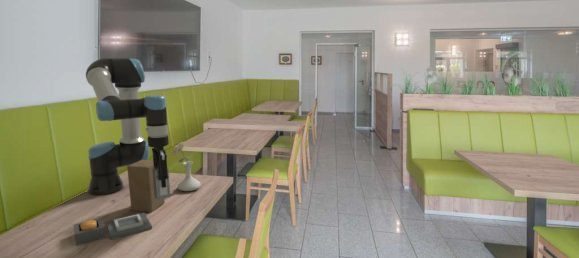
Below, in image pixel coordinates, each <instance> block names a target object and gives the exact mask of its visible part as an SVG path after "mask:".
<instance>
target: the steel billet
mask: <svg viewBox="0 0 579 258" xmlns="http://www.w3.org/2000/svg"><path fill="white" fill-rule="evenodd" d="M169 171H170V170H169V168H168V166H167V172H168V179H167V192H168V194H166V195H161V196H160V188H159V180H158V179H159V170H158V166H157V167H152V172H153V184H154V196H155V197H156V199H157V200H159V199H164V200H165V199H168V198H171V189H170V188H171V186H170V175H169V174H170V172H169Z"/></svg>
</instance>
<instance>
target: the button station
mask: <svg viewBox="0 0 579 258" xmlns="http://www.w3.org/2000/svg"><path fill="white" fill-rule="evenodd" d="M102 218H103V217H101V218H95V219H94V220H95V221H96V222H97V228H92V229H88V230H84V231H81V226H80V225H81V223H83V222H84V221H82V222H79V223H74V224H73V232H74V233H73V235H74V239H75V240H74V241H75V246H79V245H82V244H85V243H86V244H87V243H89V242H93V241H97V240H101V239H106V233H105V231H106V230H105V226H104V222H103V219H102Z"/></svg>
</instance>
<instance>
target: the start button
mask: <svg viewBox="0 0 579 258" xmlns="http://www.w3.org/2000/svg"><path fill="white" fill-rule="evenodd" d="M82 222H83V223H82ZM82 222H80V223H81V225H80V226H81V231H84V230H88V229H92V228H97V222H96V221H95V219H90V220H86V221H82Z"/></svg>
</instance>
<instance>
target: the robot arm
mask: <svg viewBox="0 0 579 258" xmlns="http://www.w3.org/2000/svg"><path fill="white" fill-rule="evenodd" d="M85 79H86V82H87V83H88V84H89V85H90V86H92V89H93V91H94V94H95V95H96V98H97V102H96V103H95V110H96V112H95V113H96V116H97V120H98V121H101V122H107V121H108V122H111V121H119V120H120V122H121V133H122V136H121V138H120V139H119V143H118V144H116V143H115V142H114V141H105V142H100V143H97V144H95V145H92V146H91V147H90V148H89V149H88V159H89V166H90V167H89V170H90V175H91V176H90V181H89V185H88V193H89V194H90V195H93V196H95V195H96V196H101V195H109V194H114V193H117V192H119V191H121V190H122V189H124V183H123V180H122V179H121V177H120V175H119V171H118V168H123V167H127V166H129V165H131V164H133V163H136V162H138V161H140V160H149V154H150V148H151V151H152V160H153V165H154V167H157V166H158V170H159V179H158V180H159V188H160V196H161V195H166V194H168V192H167V179H168V172H167V167H168V163H167V162H168V159H167V158H168V154H167V153H166V152H167V151H166V149H165V147H166V146H168V145H169V143H170V142H169V136H168V134H169V128H168V113H167V100H166V97H165V95H161V94H153V95H152V94H150V95H146V96H145V97H142V98H140V97H139V90H140V88H141V87H142V84H143V83H145V81H146V80H145V79H146V77H145V71H144V67H143V64H142V63H141V61H140V60H139V59H137V58H130V57H129V58H128V57H124V58H123V57H119V58H117V57H114V58H109V57H107V58H105V57H104V58H99V59H97V60H94V61H93V62H92V63H90V65H89V66H88V67H87V68H86V71H85ZM116 89H117V90H118V91H117V90H116ZM142 118H145V123H146V127H144V128H145V129H144V130H145V131H146V135H147V141H146V140H145V138H144V137H143V136H142V132H141V131H142V130H141V119H142Z"/></svg>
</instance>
